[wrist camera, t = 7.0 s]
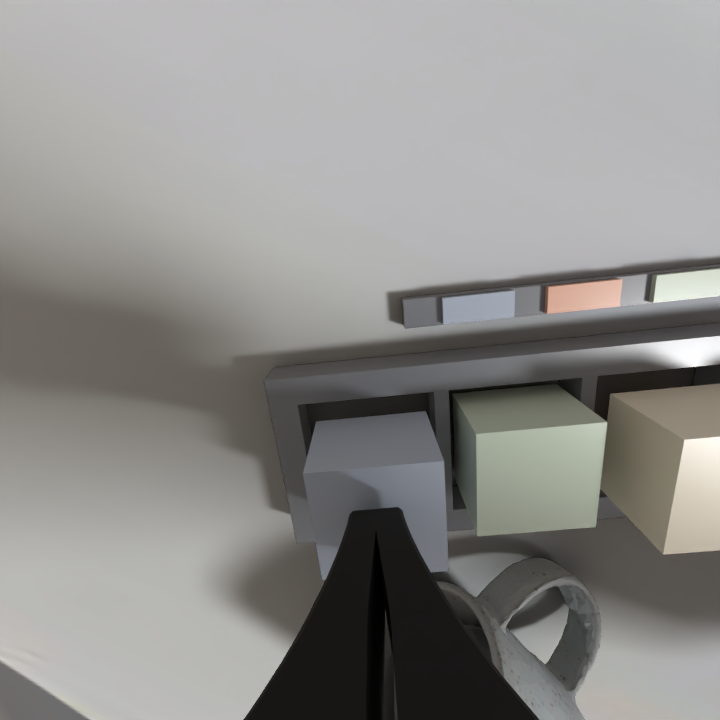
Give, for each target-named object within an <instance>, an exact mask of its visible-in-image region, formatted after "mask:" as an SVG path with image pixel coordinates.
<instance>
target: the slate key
mask: <svg viewBox="0 0 720 720" xmlns="http://www.w3.org/2000/svg"><path fill="white" fill-rule="evenodd" d="M303 477H304V483H305V488H306V494H307V499H308V504H309V510H310V515H311V521H312V526H313V532H314V537H315V543H316V548H317V554H318V559H319V565H320V570H321V576H322V581H324V580H326V578H327V575H328V573H329V571H330V568H331V566H332V564H333V561H334V559H335V557H336V554H337V552H338V549H339V546H340V544H341V541H342V538H343V535H344V532H345V529H346V526H347V522H348V518H349V514H350V513H351V512H352V511H356V510H368V509H380V508H392V507H399V508H400V509H401V510H403V514H404V517H405V520H406V523H407V526H408V528H409V531H410V533H411V535H412V537H413V539H414V542H415V544H416V546H417V548H418V550H419V552H420V554H421V556H422V557H423V559H424V561H425V563H426V565H427V566H428V568H429V570H430V572H442V571H449V563H448V540H447V517H446V493H445V470H444V459H443V457H442V454H441V451H440V449H439V446H438V443H437V440H436V438H435V435H434V432H433V429H432V427H431V424H430V421H429V419H428V416H427V413H426V411H422V412H411V413H400V414H390V415H379V416H369V417H358V418H347V419H337V420H326V421H316V425H315V428H314V432H313V436H312V440H311V444H310V448H309V452H308V455H307V459H306V463H305V467H304V471H303Z"/></svg>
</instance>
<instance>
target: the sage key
mask: <svg viewBox="0 0 720 720" xmlns="http://www.w3.org/2000/svg"><path fill="white" fill-rule="evenodd" d="M453 419H454V449H455V480H456V482H457V485H458V488H459V490H460V493H461V495H462V498H463V500H464V503H465V506H466V508H467V511H468V513H469V516H470V519H471V521H472V524H473V526H474V529H475V532H476V534H477V537H478V536H491V535H503V534H516V533H528V532H541V531H553V530H566V529H578V528H591V527H596V521H597V512H598V503H599V494H600V485H601V476H602V467H603V458H604V449H605V440H606V431H607V421H605V420H604V419H603V418H601V417H600V416H599V415H597V414H596V413H595V412H593V411H592V410H591V409H589V408H588V407H587V406H585V405H584V404H582V403H581V402H580V401H578V400H577V399H576V398H574V397H573V396H572V395H570V394H569V393H568V392H566V391H565V390H564V389H562V388H561V387H560V386H558V385H557V384H549V385H539V386H528V387H518V388H507V389H497V390H487V391H476V392H466V393H455V394H453Z"/></svg>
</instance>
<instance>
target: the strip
mask: <svg viewBox="0 0 720 720" xmlns="http://www.w3.org/2000/svg"><path fill="white" fill-rule="evenodd" d="M715 296H720V264H714V265H705V266H696V267H686V268H677V269H668V270H658V271H649V272H640V273H630V274H621V275H611V276H602V277H593V278H583V279H574V280H565V281H555V282H546V283H537V284H527V285H518V286H509V287H499V288H490V289H481V290H471V291H462V292H453V293H443V294H434V295H425V296H415V297H406V298H402V310H403V324H404V327H405V329H406V328H416V327H425V326H435V325H445V324H454V323H464V322H474V321H483V320H493V319H503V318H512V317H522V316H532V315H541V314H551V313H561V312H570V311H580V310H590V309H599V308H609V307H619V306H628V305H638V304H648V303H657V302H667V301H677V300H686V299H696V298H706V297H715Z"/></svg>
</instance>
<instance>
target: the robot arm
mask: <svg viewBox="0 0 720 720" xmlns="http://www.w3.org/2000/svg"><path fill="white" fill-rule="evenodd" d="M385 611H386V618H387V624H388V631H389V637H390V644H391V651H392V657H393V664H394V673H395V688H396V703H397V718H398V720H539V718H538V717H537V716H536V715H535V714H534V713H533V711H532V710H531V709H530V708H529V707H528V705H527V704H526V703H525V702H524V701H523V700H522V698H521V697H520V696H519V695H518V694H517V692H516V691H515V690H514V689H513V688H512V687H511V685H510V684H509V683H508V682H507V681H506V680H505V678H504V677H503V676H502V675H501V673H500V672H499V671H498V669H497V668H496V667H495V666H494V664H493V663H492V662H491V660H490V659H489V658H488V657H487V655H486V654H485V653H484V651H483V650H482V649H481V647H480V646H479V645H478V643H477V642H476V641H475V639H474V638H473V636H472V635H471V634H470V632H469V631H468V630H467V628H466V627H465V625H464V624H463V622H462V621H461V619H460V618H459V617H458V615H457V614H456V612H455V611H454V609H453V608H452V606H451V604H450V603H449V601H448V600H447V598H446V597H445V595H444V594H443V592H442V590H441V589H440V587H439V585H438V584H437V582H436V580H435V579H434V577H433V575H432V574H431V572H430V570H429V568H428V566H427V565H426V563H425V561H424V559H423V557H422V556H421V554H420V552H419V550H418V548H417V546H416V544H415V542H414V539H413V537H412V535H411V533H410V531H409V528H408V526H407V523H406V520H405V517H404V514H403V510H401V509H400V508H399V507H392V508H380V509H368V510H356V511H352V512H351V513H350V514H349V518H348V522H347V526H346V529H345V532H344V535H343V538H342V541H341V544H340V546H339V549H338V552H337V554H336V557H335V559H334V561H333V564H332V566H331V568H330V571H329V573H328V575H327V578H326V580H325V582H324V584H323V587H322V589H321V591H320V593H319V595H318V597H317V599H316V601H315V603H314V605H313V607H312V609H311V611H310V613H309V615H308V617H307V619H306V620H305V622H304V624H303V626H302V628H301V630H300V631H299V633H298V635H297V637H296V639H295V640H294V642H293V644H292V645H291V647H290V649H289V651H288V652H287V654H286V656H285V657H284V659H283V661H282V662H281V664H280V665H279V667H278V669H277V670H276V672H275V673H274V675H273V676H272V678H271V680H270V681H269V683H268V684H267V686H266V687H265V689H264V690H263V692H262V694H261V695H260V697H259V698H258V700H257V701H256V703H255V704H254V705H253V707H252V708H251V710H250V711H249V713H248V714H247V716H246V717H245V719H244V720H384V667H385Z"/></svg>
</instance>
